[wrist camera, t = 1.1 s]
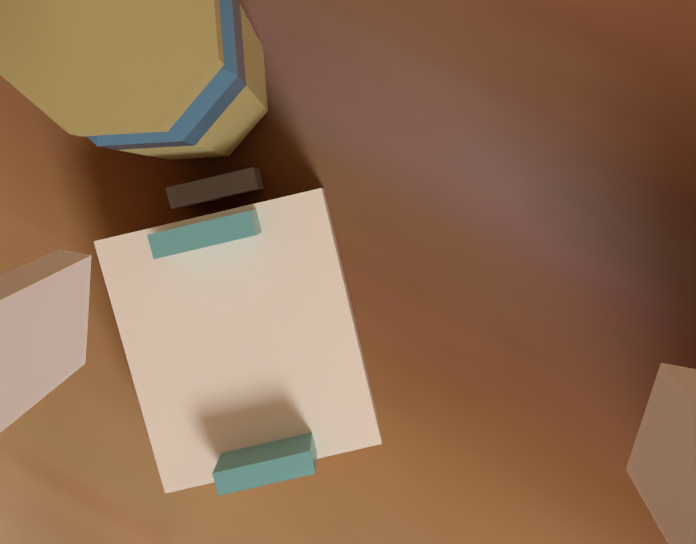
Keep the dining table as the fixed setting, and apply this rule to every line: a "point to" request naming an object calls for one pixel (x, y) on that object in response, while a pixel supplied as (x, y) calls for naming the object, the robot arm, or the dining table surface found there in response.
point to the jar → (139, 71)
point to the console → (240, 337)
